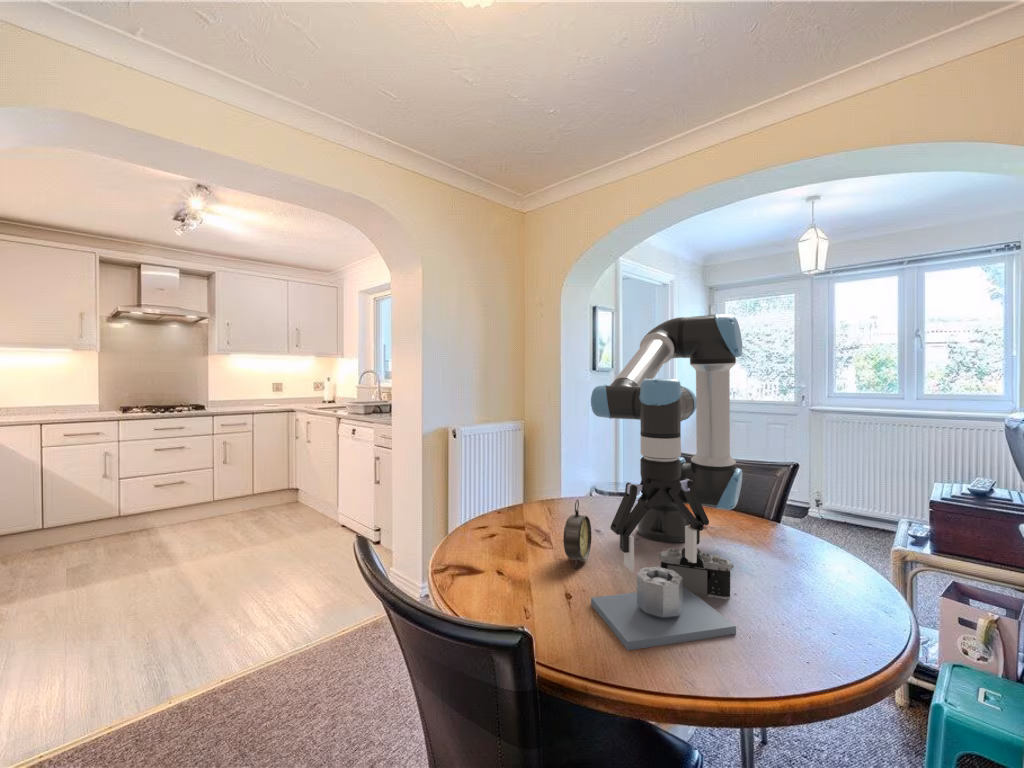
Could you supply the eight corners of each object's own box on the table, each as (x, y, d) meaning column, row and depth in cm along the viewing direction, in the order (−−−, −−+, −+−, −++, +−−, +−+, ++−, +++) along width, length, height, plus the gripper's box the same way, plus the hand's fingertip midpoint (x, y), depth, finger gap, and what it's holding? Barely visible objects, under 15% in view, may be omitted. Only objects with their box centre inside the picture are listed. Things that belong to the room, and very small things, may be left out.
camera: (730, 585, 102) (731, 542, 102) (734, 604, 94) (735, 556, 94) (659, 574, 108) (659, 533, 108) (657, 591, 100) (657, 546, 99)
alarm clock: (580, 572, 109) (581, 506, 109) (559, 568, 111) (559, 503, 111) (592, 555, 119) (592, 495, 119) (573, 552, 121) (573, 492, 121)
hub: (666, 594, 93) (666, 565, 93) (689, 613, 85) (690, 582, 85) (631, 598, 91) (631, 569, 91) (651, 619, 83) (652, 587, 83)
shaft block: (684, 593, 99) (684, 559, 98) (736, 634, 83) (736, 593, 83) (591, 604, 94) (591, 569, 93) (627, 650, 78) (627, 607, 78)
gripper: (703, 450, 94) (703, 549, 95) (593, 457, 88) (593, 562, 89) (728, 457, 87) (728, 564, 88) (609, 465, 81) (610, 580, 82)
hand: (660, 564), depth 88 cm, fingers open, 13 cm apart
